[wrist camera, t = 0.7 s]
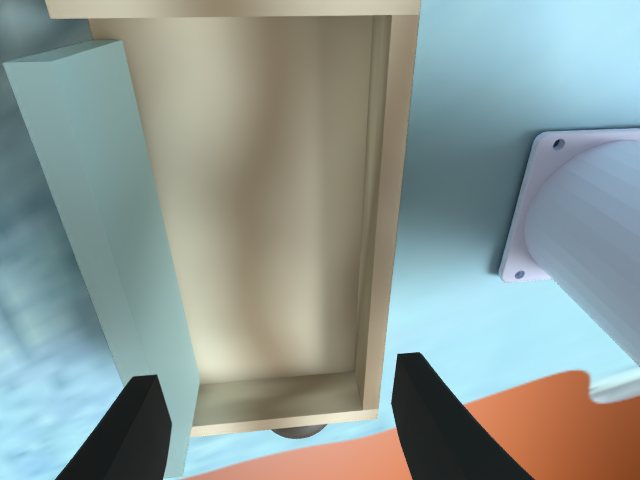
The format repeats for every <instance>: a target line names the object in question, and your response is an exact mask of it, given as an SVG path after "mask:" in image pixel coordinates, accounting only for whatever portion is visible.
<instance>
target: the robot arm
mask: <svg viewBox="0 0 640 480" xmlns="http://www.w3.org/2000/svg"><path fill="white" fill-rule="evenodd" d="M558 139H560V140H559V143H558V145H557V146H556V147H553V145H554V143H555V142H556V141H557V140H558ZM518 271H520V272H519V273H518V274H516V273H517V272H518ZM498 275H499V277H500V278H501V280H502V281H504V282H507V283H510V282H524V281H538V280H552V279H553V280H554V281H555V282H556V283H557V284H558V285H559V286H560V287H561V288H562V289H563V290H564V291H565V292H566V293H567V294H568V295H569V296H570V297H571V298H572V299H573V300H574V301H575V302H576V303H577V304H578V305H579V306H580V307H581V308H582V309H583V310H584V311H585V312H586V313H587V314H588V315H589V316H590V317H591V318H592V319H593V320H594V321H595V322H596V323H597V324H598V325H599V326H600V327H601V328H602V329H603V330H604V331H605V332H606V333H607V334H608V335H609V336H610V337H611V338H612V339H613V340H614V341H615V342H616V343H617V344H618V345H619V346H620V347H621V348H622V349H623V350H624V351H625V352H626V353H627V354H628V355H629V356H630V357H631V358H632V359H633V360H634V362H635V363H636V364H637V365H638V366H639V367H640V128H629V129H602V130H576V131H549V132H543V133H541V134H539V135H538V136H537V137H536V138H535V140H534V142H533V145H532V149H531V153H530V157H529V160H528V164H527V168H526V171H525V175H524V179H523V183H522V186H521V190H520V194H519V198H518V201H517V205H516V209H515V213H514V216H513V220H512V224H511V228H510V231H509V235H508V239H507V243H506V246H505V250H504V254H503V257H502V261H501V265H500V269H499V273H498ZM391 404H392V409H393V414H394V418H395V423H396V427H397V432H398V436H399V440H400V443H401V446H402V449H403V452H404V455H405V458H406V461H407V464H408V467H409V470H410V473H411V476H412V479H413V480H535V479H534V478H532V476H530V475H529V474H528V473H527V472H526V471H525V470H524V469H523V468H522V467H521V466H520V465H519V464H518V463H517V462H516V461H515V460H514V459H513V458H512V457H511V456H510V455H509V454H507V452H506V451H505V450H504V449H503V448H502V447H501V446H500V445H499V444H498V443H497V442H496V441H495V440H494V439H493V438H492V437H491V436H490V435H489V434H488V432H486V430H485V429H484V428H483V427H482V426H481V425H480V424H479V423H478V422H477V420H476V419H475V418H474V417H473V416H472V415H471V414H470V413H469V411H468V410H467V409H466V408H465V407H464V406H463V405H462V403H461V402H460V401H459V400H458V399H457V398H456V396H455V395H454V394H453V393H452V392H451V390H450V389H449V388H448V387H447V386H446V384H445V383H444V382H443V381H442V379H441V378H440V377H439V376H438V374H437V373H436V372H435V371H434V369H433V368H432V367H431V365H430V364H429V363H428V361H427V360H426V359H425V358H424V356H423V355H422V354H421V353H420V352H416V353H404V354H397V362H396V370H395V378H394V385H393V393H392V401H391ZM171 430H172V421H171V418H170V415H169V411H168V408H167V405H166V402H165V398H164V395H163V392H162V388H161V385H160V382H159V379H158V375H157V374H155V375H144V376H133V377H132V378H131V379H130V380H129V381H128V383H127V384H126V386H125V387H124V389H123V390H122V391H121V393H120V394H119V396H118V397H117V399H116V400H115V401H114V403H113V404H112V406H111V407H110V408H109V410H108V411H107V413H106V414H105V415H104V417H103V418H102V419H101V421H100V422H99V424H98V425H97V426H96V428H95V429H94V430H93V432H92V433H91V434H90V436H89V437H88V438H87V440H86V441H85V442H84V443H83V445H82V446H81V447H80V449H79V450H78V451H77V453H76V454H75V455H74V457H73V458H72V459H71V460H70V462H69V463H68V464H67V465H66V467H65V468H64V469H63V470H62V472H61V473H60V474H59V475H58V476H57V478H56V479H55V480H163V477H164V473H165V469H166V465H167V458H168V452H169V445H170V438H171Z"/></svg>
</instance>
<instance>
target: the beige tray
mask: <svg viewBox="0 0 640 480" xmlns="http://www.w3.org/2000/svg"><path fill="white" fill-rule="evenodd" d="M45 2H46V5H47V9H48V12H49V15H50V19H83V18H88V22H89V26H90V29H91V33H92V37H93V40H122V41H123V45H124V50H125V54H126V59H127V63H128V67H129V72H130V76H131V80H132V85H133V89H134V93H135V98H136V102H137V107H138V111H139V115H140V120H141V124H142V128H143V133H144V137H145V141H146V146H147V150H148V155H149V159H150V163H151V168H152V172H153V176H154V181H155V185H156V189H157V194H158V198H159V203H160V207H161V211H162V216H163V220H164V224H165V229H166V233H167V237H168V242H169V246H170V251H171V255H172V259H173V264H174V268H175V272H176V277H177V281H178V286H179V290H180V294H181V299H182V303H183V307H184V312H185V316H186V320H187V325H188V329H189V334H190V338H191V342H192V347H193V351H194V355H195V360H196V364H197V368H198V373H199V377H200V384H199V389H198V395H197V400H196V406H195V412H194V417H193V423H192V428H191V434H190V437H199V436H209V435H219V434H229V433H239V432H249V431H260V430H270V429H271V430H272V431H273V432H275V433H276V434H278V435H280V436H283V437H286V438H291V439H301V438H306V437H310V436H312V435H314V434H316V433H318V432H319V431H321V430H322V429H323V428H324V427H325V426H326V425H327V424H331V423H341V422H351V421H361V420H372V419H377V417H378V408H379V398H380V389H381V379H382V370H383V360H384V350H385V341H386V331H387V322H388V312H389V303H390V293H391V284H392V274H393V265H394V255H395V246H396V236H397V226H398V217H399V207H400V198H401V188H402V179H403V169H404V160H405V150H406V141H407V131H408V122H409V112H410V102H411V93H412V83H413V74H414V64H415V55H416V45H417V36H418V26H419V17H420V7H421V0H45Z"/></svg>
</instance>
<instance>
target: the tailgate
mask: <svg viewBox="0 0 640 480" xmlns="http://www.w3.org/2000/svg"><path fill="white" fill-rule="evenodd" d="M3 66H4V69H5V71H6V74H7V77H8V79H9V82H10V85H11V88H12V90H13V93H14V96H15V98H16V101H17V104H18V106H19V109H20V112H21V114H22V117H23V120H24V122H25V125H26V128H27V130H28V133H29V136H30V138H31V141H32V144H33V146H34V149H35V152H36V154H37V157H38V160H39V162H40V165H41V168H42V170H43V173H44V176H45V178H46V181H47V184H48V186H49V189H50V192H51V194H52V197H53V200H54V202H55V205H56V208H57V210H58V213H59V216H60V218H61V221H62V224H63V226H64V229H65V232H66V234H67V237H68V240H69V242H70V245H71V248H72V250H73V253H74V256H75V258H76V261H77V264H78V266H79V269H80V272H81V274H82V277H83V280H84V282H85V285H86V288H87V290H88V293H89V296H90V298H91V301H92V304H93V306H94V309H95V312H96V314H97V317H98V320H99V322H100V325H101V328H102V330H103V333H104V336H105V338H106V341H107V344H108V346H109V349H110V352H111V354H112V357H113V360H114V362H115V365H116V368H117V370H118V373H119V376H120V378H121V381H122V384H123V386H124V387H125V386H126V384H127V383H128V381H129V380H130V379H131V378H132V377H133V376H144V375H155V374H157V375H158V379H159V382H160V385H161V388H162V392H163V395H164V398H165V402H166V405H167V408H168V411H169V415H170V418H171V421H172V430H171V438H170V445H169V452H168V458H167V465H166V469H165V473H164V477H163V478H172V477H181V476H183V473H184V467H185V461H186V456H187V450H188V445H189V439H190V434H191V428H192V423H193V417H194V412H195V406H196V400H197V395H198V389H199V384H200V377H199V373H198V368H197V364H196V360H195V355H194V351H193V347H192V342H191V338H190V334H189V329H188V325H187V320H186V316H185V312H184V307H183V303H182V299H181V294H180V290H179V286H178V281H177V277H176V272H175V268H174V264H173V259H172V255H171V251H170V246H169V242H168V237H167V233H166V229H165V224H164V220H163V216H162V211H161V207H160V203H159V198H158V194H157V189H156V185H155V181H154V176H153V172H152V168H151V163H150V159H149V155H148V150H147V146H146V141H145V137H144V133H143V128H142V124H141V120H140V115H139V111H138V107H137V102H136V98H135V93H134V89H133V85H132V80H131V76H130V72H129V67H128V63H127V59H126V54H125V50H124V45H123V41H122V40H89V41H85V42H81V43H77V44H73V45H69V46H65V47H61V48H58V49H54V50H50V51H46V52H42V53H38V54H34V55H30V56H26V57H22V58H18V59H15V60H11V61H7V62H3Z"/></svg>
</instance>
